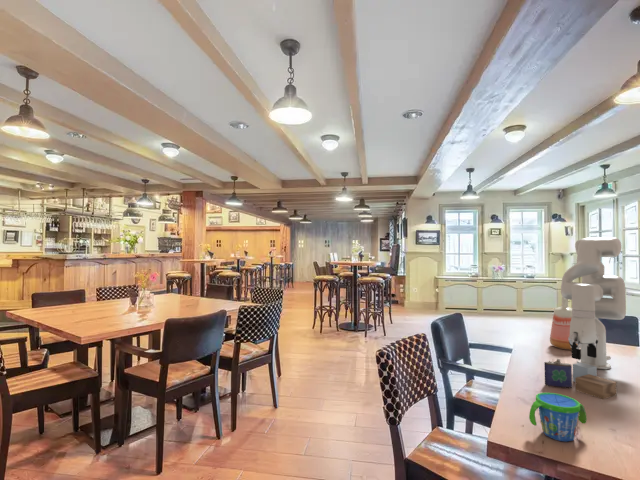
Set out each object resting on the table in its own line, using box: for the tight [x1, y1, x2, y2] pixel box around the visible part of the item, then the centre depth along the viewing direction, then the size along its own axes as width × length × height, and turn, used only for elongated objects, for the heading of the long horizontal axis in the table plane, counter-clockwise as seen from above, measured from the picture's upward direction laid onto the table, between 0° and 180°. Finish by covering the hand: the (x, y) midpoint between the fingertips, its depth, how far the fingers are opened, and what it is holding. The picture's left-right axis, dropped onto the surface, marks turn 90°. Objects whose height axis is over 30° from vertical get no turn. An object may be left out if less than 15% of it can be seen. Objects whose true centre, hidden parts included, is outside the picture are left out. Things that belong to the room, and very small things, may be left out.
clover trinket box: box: [543, 358, 573, 389], centre depth 139 cm, size 9×3×11 cm, turn 74°
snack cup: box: [528, 392, 588, 442], centre depth 101 cm, size 16×10×10 cm
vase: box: [549, 295, 581, 351], centre depth 196 cm, size 14×14×30 cm
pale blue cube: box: [572, 362, 598, 383], centre depth 143 cm, size 6×6×7 cm
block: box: [575, 374, 618, 400], centre depth 133 cm, size 9×9×5 cm
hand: (584, 357), depth 143 cm, fingers open, 9 cm apart
